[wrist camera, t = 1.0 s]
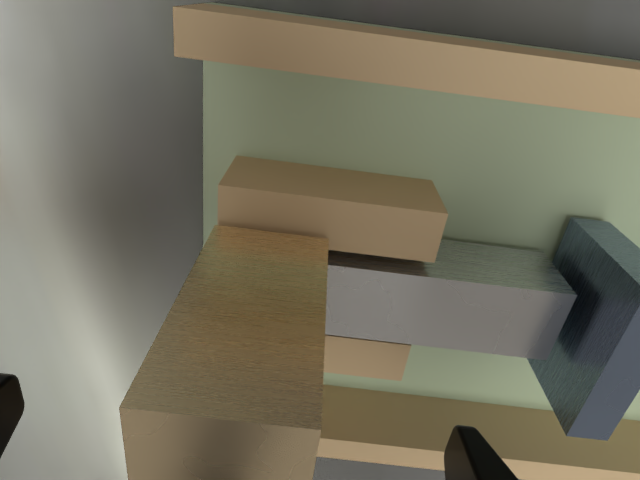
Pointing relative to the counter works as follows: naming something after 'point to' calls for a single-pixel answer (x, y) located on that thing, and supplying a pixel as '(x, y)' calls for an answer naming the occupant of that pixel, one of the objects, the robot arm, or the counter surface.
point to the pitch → (419, 201)
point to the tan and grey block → (374, 324)
